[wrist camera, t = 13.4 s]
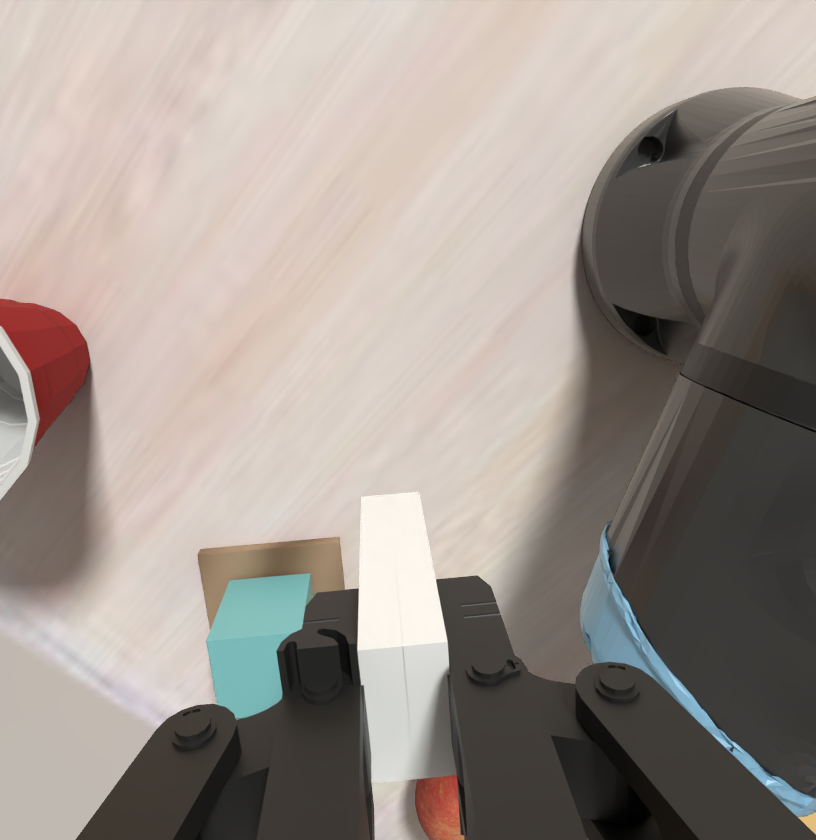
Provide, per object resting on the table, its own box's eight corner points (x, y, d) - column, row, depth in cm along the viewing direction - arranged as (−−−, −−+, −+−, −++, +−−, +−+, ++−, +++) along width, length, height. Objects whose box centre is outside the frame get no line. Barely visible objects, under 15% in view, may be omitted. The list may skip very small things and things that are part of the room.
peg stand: (339, 537, 44) (334, 593, 37) (351, 655, 47) (349, 727, 40) (200, 549, 44) (170, 608, 37) (220, 667, 46) (196, 743, 40)
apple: (407, 799, 50) (415, 902, 43) (415, 709, 48) (424, 801, 41) (513, 800, 51) (539, 902, 43) (525, 711, 49) (555, 802, 41)
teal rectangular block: (310, 573, 44) (301, 632, 37) (319, 642, 45) (311, 711, 39) (229, 580, 43) (206, 641, 37) (240, 650, 45) (220, 719, 39)
